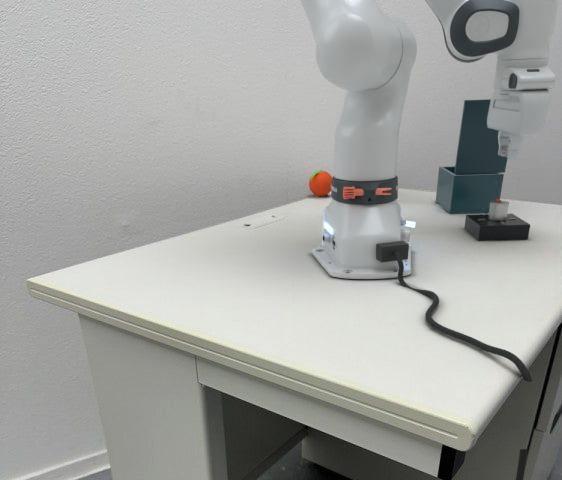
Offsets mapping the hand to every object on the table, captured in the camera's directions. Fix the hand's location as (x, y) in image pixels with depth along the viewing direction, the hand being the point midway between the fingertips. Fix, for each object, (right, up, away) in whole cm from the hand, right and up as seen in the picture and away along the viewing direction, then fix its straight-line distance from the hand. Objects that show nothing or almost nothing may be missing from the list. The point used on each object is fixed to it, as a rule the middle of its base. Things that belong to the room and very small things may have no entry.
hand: (507, 157), depth 108 cm
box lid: (+2, +11, +16) cm, 20 cm away
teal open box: (+2, 0, +31) cm, 31 cm away
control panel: (0, -13, +7) cm, 15 cm away
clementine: (-34, +8, +48) cm, 60 cm away
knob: (0, -11, +6) cm, 12 cm away
